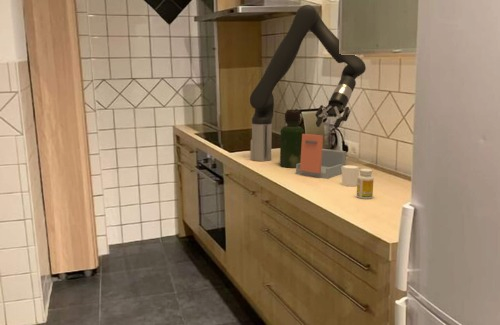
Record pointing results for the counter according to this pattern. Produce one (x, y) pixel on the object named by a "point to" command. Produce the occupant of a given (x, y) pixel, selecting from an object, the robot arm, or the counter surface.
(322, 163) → the tray
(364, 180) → the supplement bottle
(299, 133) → the green water bottle
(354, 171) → the tan cylinder
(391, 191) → the counter surface
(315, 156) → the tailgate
